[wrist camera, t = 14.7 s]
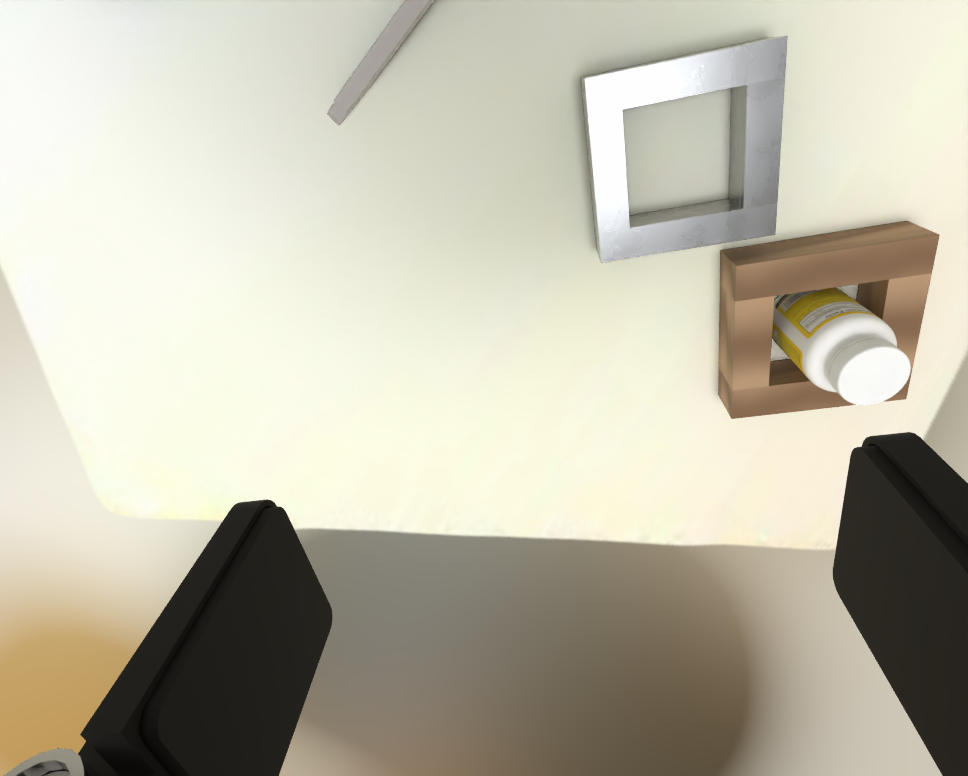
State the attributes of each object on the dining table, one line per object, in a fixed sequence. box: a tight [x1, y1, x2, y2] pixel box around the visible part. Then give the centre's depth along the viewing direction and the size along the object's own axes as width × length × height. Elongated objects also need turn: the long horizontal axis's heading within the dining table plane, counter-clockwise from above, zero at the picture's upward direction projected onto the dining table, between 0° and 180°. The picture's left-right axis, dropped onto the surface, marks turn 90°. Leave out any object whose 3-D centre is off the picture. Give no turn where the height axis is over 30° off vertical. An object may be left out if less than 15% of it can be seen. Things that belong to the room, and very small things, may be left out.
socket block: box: [581, 36, 787, 263], centre depth 36 cm, size 11×11×3 cm
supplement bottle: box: [772, 287, 911, 405], centre depth 37 cm, size 5×5×10 cm
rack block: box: [718, 221, 939, 419], centre depth 40 cm, size 12×12×4 cm
